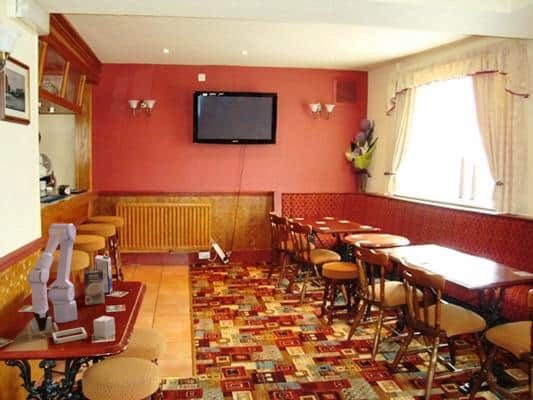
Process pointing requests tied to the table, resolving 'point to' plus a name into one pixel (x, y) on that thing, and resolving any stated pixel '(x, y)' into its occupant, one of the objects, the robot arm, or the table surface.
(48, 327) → the block
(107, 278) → the milk carton
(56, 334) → the tray
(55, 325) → the rack
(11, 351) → the table surface
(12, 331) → the table surface
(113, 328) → the skincare box
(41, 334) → the offcut
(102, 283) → the coffee box
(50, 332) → the offcut
